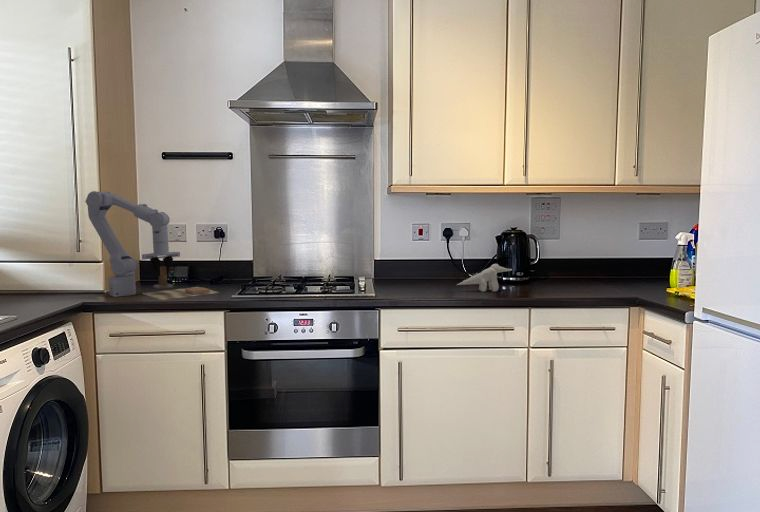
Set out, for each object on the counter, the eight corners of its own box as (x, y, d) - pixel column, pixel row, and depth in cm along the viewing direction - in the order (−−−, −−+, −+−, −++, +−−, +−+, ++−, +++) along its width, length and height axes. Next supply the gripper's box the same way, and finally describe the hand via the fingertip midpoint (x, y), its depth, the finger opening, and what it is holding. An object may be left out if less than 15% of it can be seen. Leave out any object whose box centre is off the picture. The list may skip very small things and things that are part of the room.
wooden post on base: (157, 288, 211) (156, 267, 210) (153, 287, 215) (152, 266, 214) (172, 286, 215) (171, 266, 214) (168, 285, 219) (167, 265, 218)
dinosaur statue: (516, 289, 215) (514, 262, 214) (458, 296, 214) (456, 269, 213) (511, 287, 222) (508, 261, 221) (455, 294, 221) (452, 267, 220)
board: (161, 302, 201) (161, 300, 201) (141, 295, 217) (141, 293, 217) (220, 294, 217) (220, 292, 217) (197, 288, 233) (197, 286, 233)
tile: (185, 292, 218) (193, 295, 212) (185, 289, 217) (193, 291, 212) (201, 290, 222) (209, 292, 216) (201, 287, 222) (209, 289, 216)
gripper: (145, 243, 205) (147, 278, 207) (182, 241, 215) (184, 274, 217) (139, 243, 211) (141, 276, 212) (175, 240, 220) (177, 273, 222)
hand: (162, 275), depth 215 cm, fingers closed on wooden post on base, 2 cm apart
